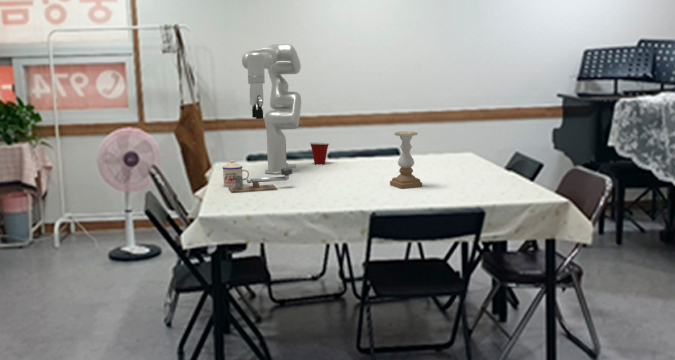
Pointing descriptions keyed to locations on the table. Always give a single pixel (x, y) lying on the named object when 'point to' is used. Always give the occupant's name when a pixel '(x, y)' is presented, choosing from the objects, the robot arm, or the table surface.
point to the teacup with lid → (232, 173)
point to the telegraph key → (255, 187)
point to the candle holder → (406, 164)
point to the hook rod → (284, 171)
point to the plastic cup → (319, 152)
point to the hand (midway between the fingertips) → (257, 118)
